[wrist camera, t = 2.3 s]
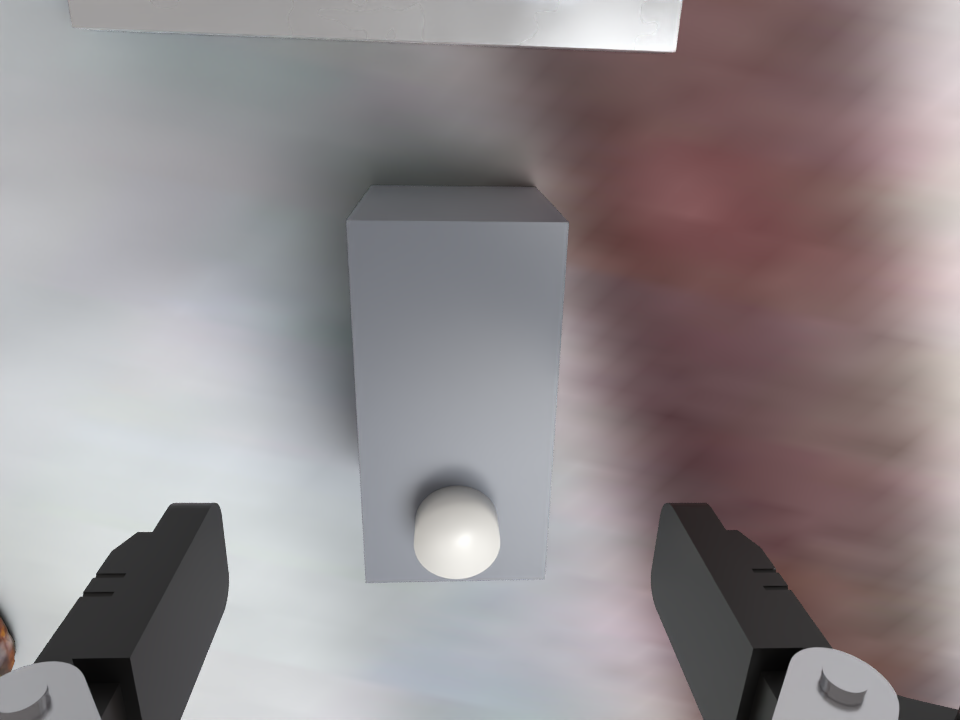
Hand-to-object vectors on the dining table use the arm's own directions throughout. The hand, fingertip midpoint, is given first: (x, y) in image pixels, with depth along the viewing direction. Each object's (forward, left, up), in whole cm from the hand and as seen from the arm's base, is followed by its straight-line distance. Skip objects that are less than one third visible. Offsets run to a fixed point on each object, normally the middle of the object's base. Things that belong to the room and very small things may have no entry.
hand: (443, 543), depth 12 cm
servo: (0, 0, -11) cm, 11 cm away
